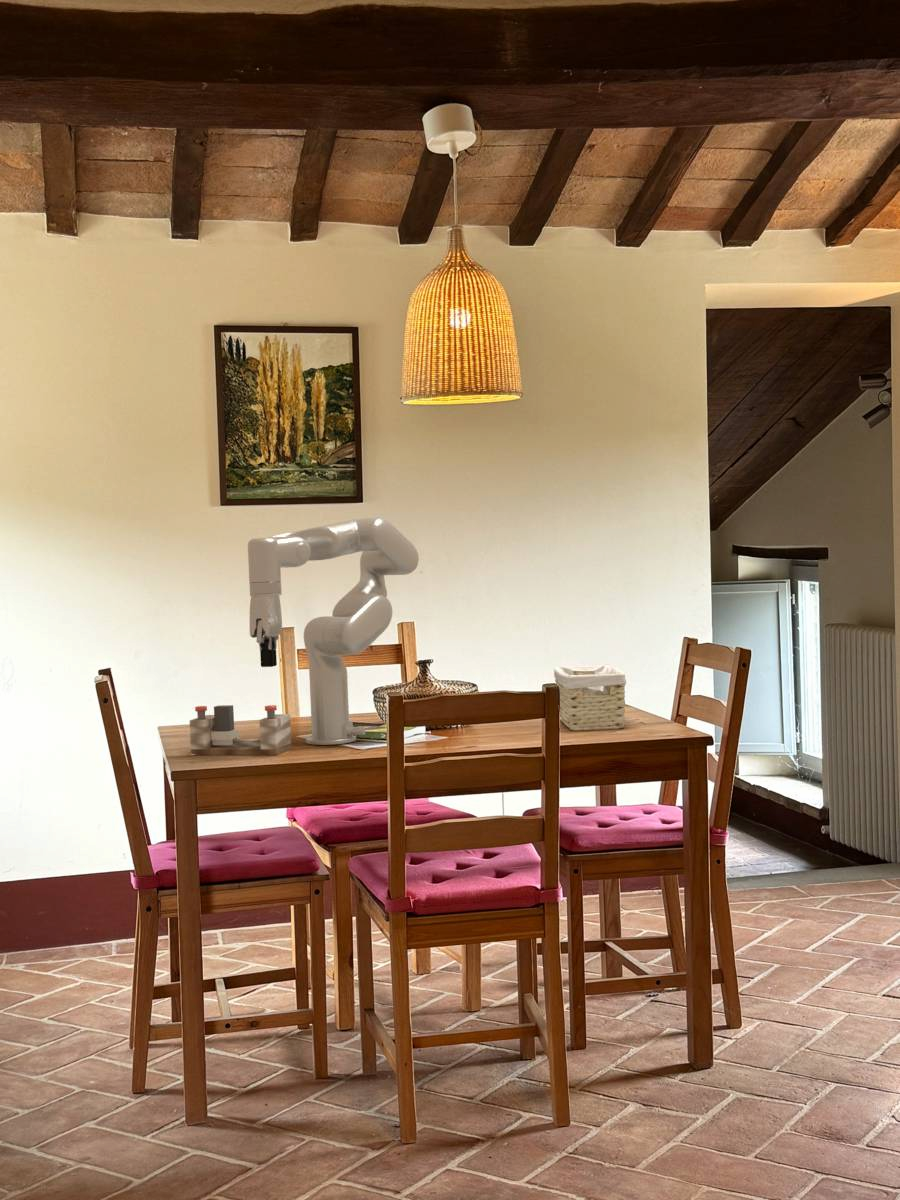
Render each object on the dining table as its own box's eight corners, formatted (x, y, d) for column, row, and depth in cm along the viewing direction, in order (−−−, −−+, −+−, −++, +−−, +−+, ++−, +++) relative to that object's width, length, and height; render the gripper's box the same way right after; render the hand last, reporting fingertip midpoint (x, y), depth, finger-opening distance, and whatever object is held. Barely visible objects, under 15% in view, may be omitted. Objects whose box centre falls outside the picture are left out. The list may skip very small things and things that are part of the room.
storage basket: (629, 729, 329) (627, 671, 328) (565, 732, 328) (563, 674, 327) (613, 717, 353) (611, 663, 352) (554, 720, 352) (552, 666, 351)
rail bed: (291, 748, 317) (290, 714, 317) (276, 755, 308) (275, 719, 307) (208, 748, 323) (206, 714, 322) (191, 755, 313) (189, 720, 312)
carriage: (238, 742, 318) (237, 704, 318) (230, 745, 313) (229, 707, 313) (219, 742, 319) (218, 704, 319) (211, 745, 314) (209, 707, 314)
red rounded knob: (209, 722, 316) (208, 705, 315) (204, 723, 313) (203, 707, 313) (198, 722, 316) (198, 706, 316) (193, 723, 313) (193, 707, 313)
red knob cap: (278, 721, 311) (278, 705, 311) (274, 723, 309) (274, 706, 308) (268, 721, 312) (267, 705, 312) (263, 723, 309) (262, 706, 309)
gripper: (262, 588, 317) (266, 663, 318) (238, 591, 303) (241, 669, 303) (291, 588, 316) (294, 663, 316) (268, 590, 301) (271, 669, 301)
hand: (268, 666), depth 310 cm, fingers closed
